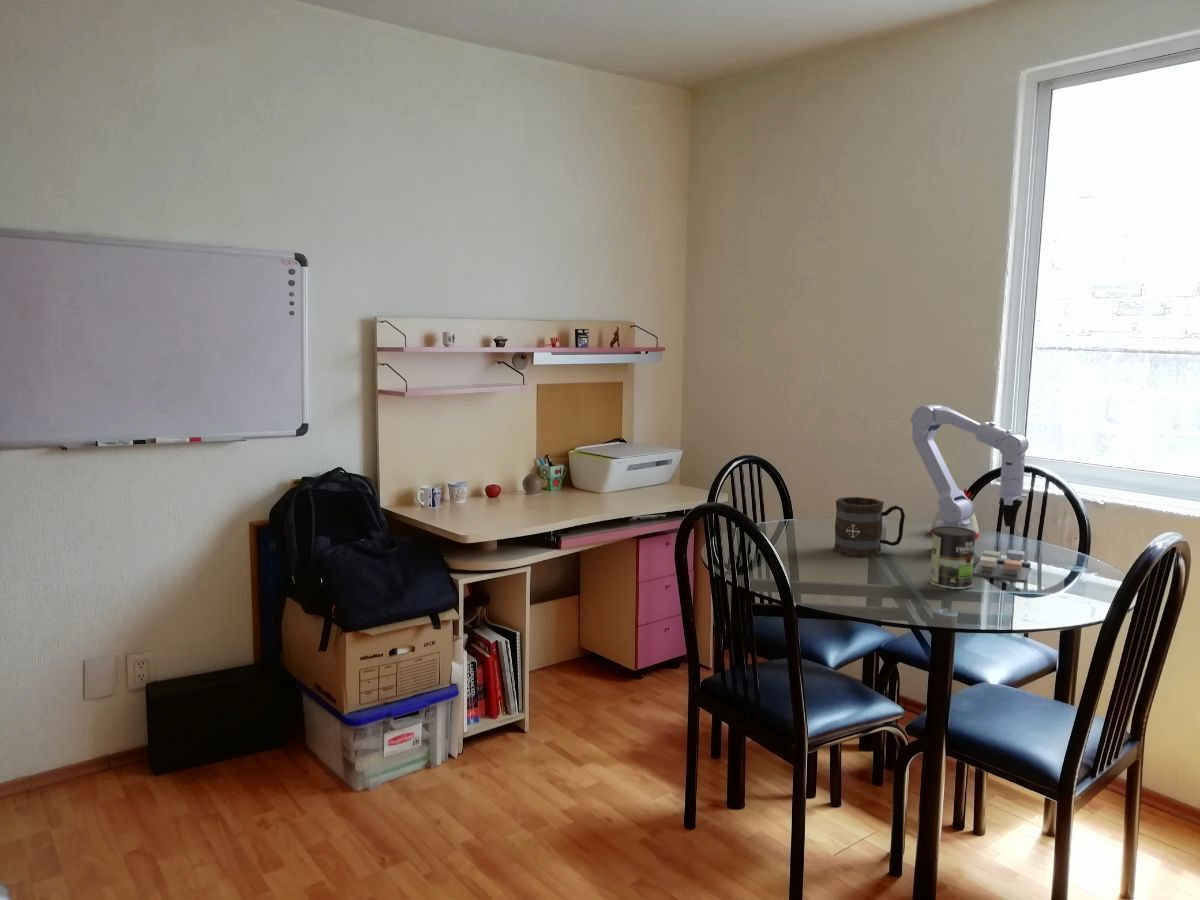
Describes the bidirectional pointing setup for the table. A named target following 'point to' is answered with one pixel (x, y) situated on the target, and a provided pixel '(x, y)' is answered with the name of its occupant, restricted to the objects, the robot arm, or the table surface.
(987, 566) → the ivory key
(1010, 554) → the grey square block
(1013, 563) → the terracotta key
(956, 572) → the coffee can
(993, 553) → the cream white block
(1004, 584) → the table surface
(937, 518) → the kitchen timer
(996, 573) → the keypad board
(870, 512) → the mug
